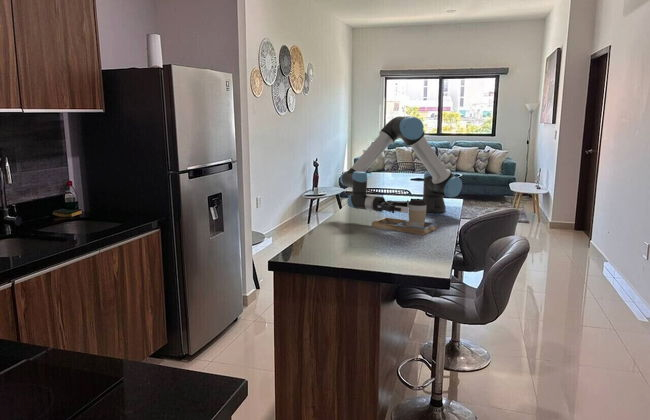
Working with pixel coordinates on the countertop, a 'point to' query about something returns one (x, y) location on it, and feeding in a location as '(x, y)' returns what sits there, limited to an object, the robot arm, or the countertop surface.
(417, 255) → the countertop surface
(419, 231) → the oak rack
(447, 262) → the countertop surface
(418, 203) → the coffee cup
